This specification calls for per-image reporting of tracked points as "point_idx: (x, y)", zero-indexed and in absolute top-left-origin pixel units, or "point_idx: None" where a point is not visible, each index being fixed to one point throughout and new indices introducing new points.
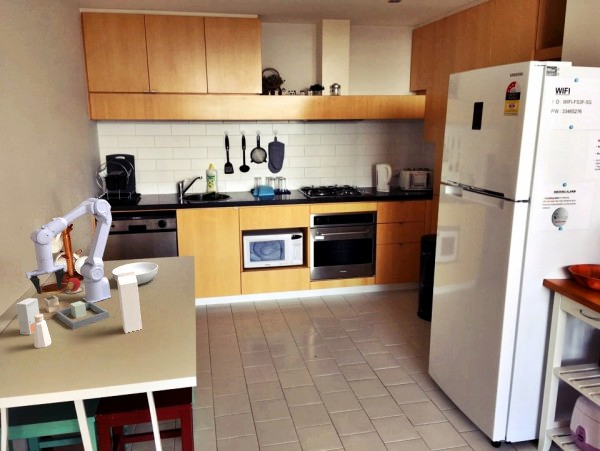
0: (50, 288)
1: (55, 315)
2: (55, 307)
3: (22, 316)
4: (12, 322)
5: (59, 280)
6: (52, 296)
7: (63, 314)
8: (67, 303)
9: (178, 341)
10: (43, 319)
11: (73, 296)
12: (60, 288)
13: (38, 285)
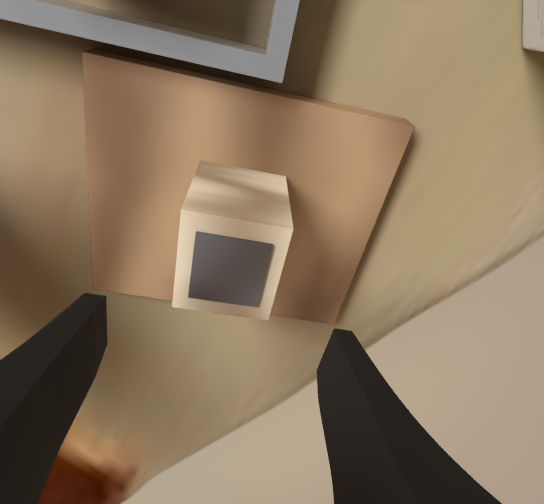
0: (74, 487)
1: (280, 94)
2: (230, 178)
3: None
4: (467, 274)
5: (31, 386)
6: (198, 291)
7: (228, 40)
8: (95, 228)
9: None
10: (376, 115)
11: (7, 334)
12: (91, 295)
13: (400, 429)
